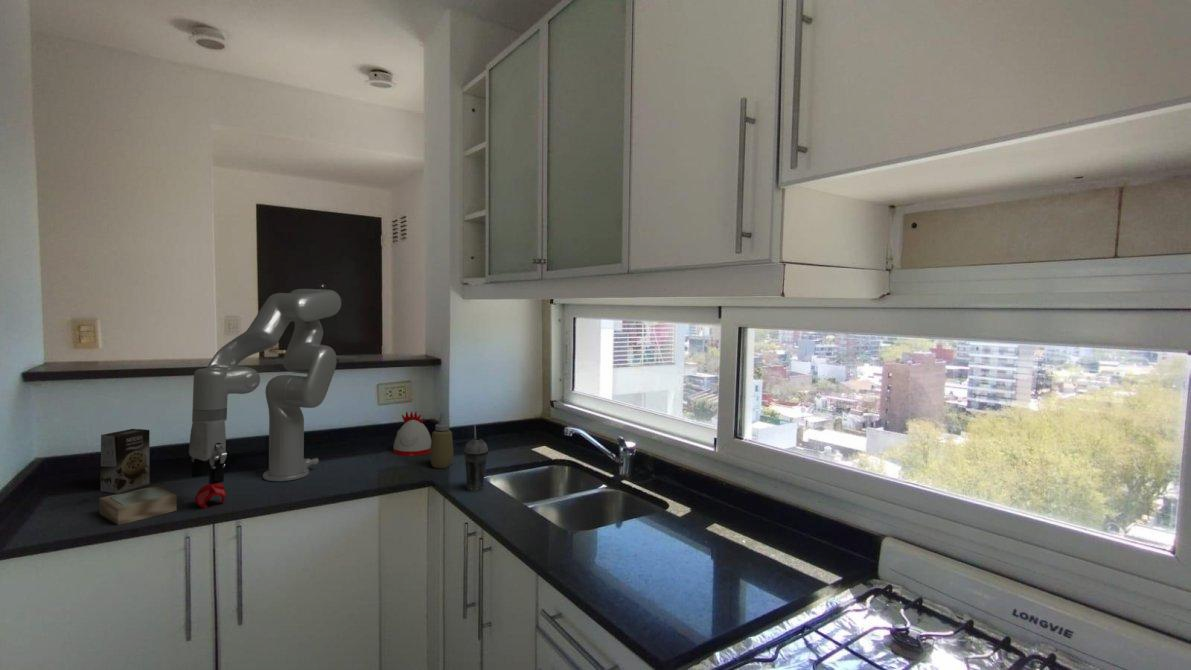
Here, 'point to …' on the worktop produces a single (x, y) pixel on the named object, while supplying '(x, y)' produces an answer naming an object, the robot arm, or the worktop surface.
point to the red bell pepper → (209, 493)
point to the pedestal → (137, 505)
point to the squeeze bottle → (441, 445)
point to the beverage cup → (475, 463)
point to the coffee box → (124, 460)
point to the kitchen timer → (412, 437)
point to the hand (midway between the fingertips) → (207, 479)
